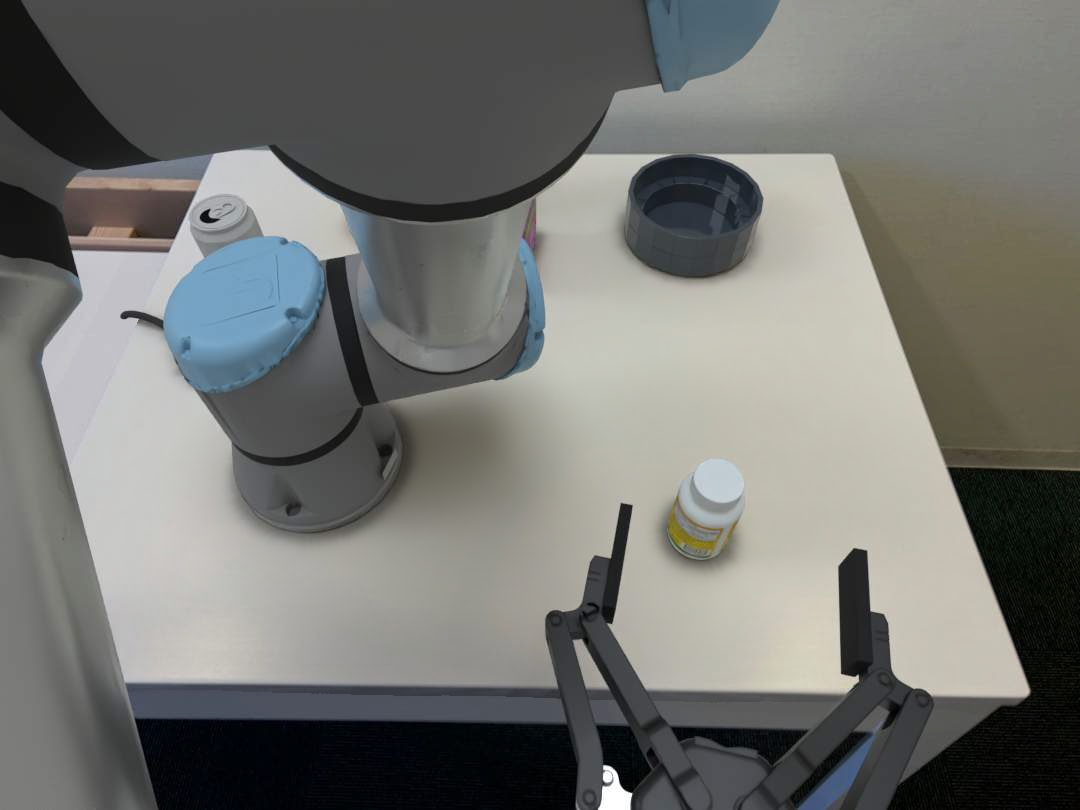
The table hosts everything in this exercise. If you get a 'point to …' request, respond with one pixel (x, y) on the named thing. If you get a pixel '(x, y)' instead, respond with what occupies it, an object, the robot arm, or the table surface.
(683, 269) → the grey round tub
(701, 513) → the supplement bottle
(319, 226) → the table surface
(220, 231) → the beverage can
